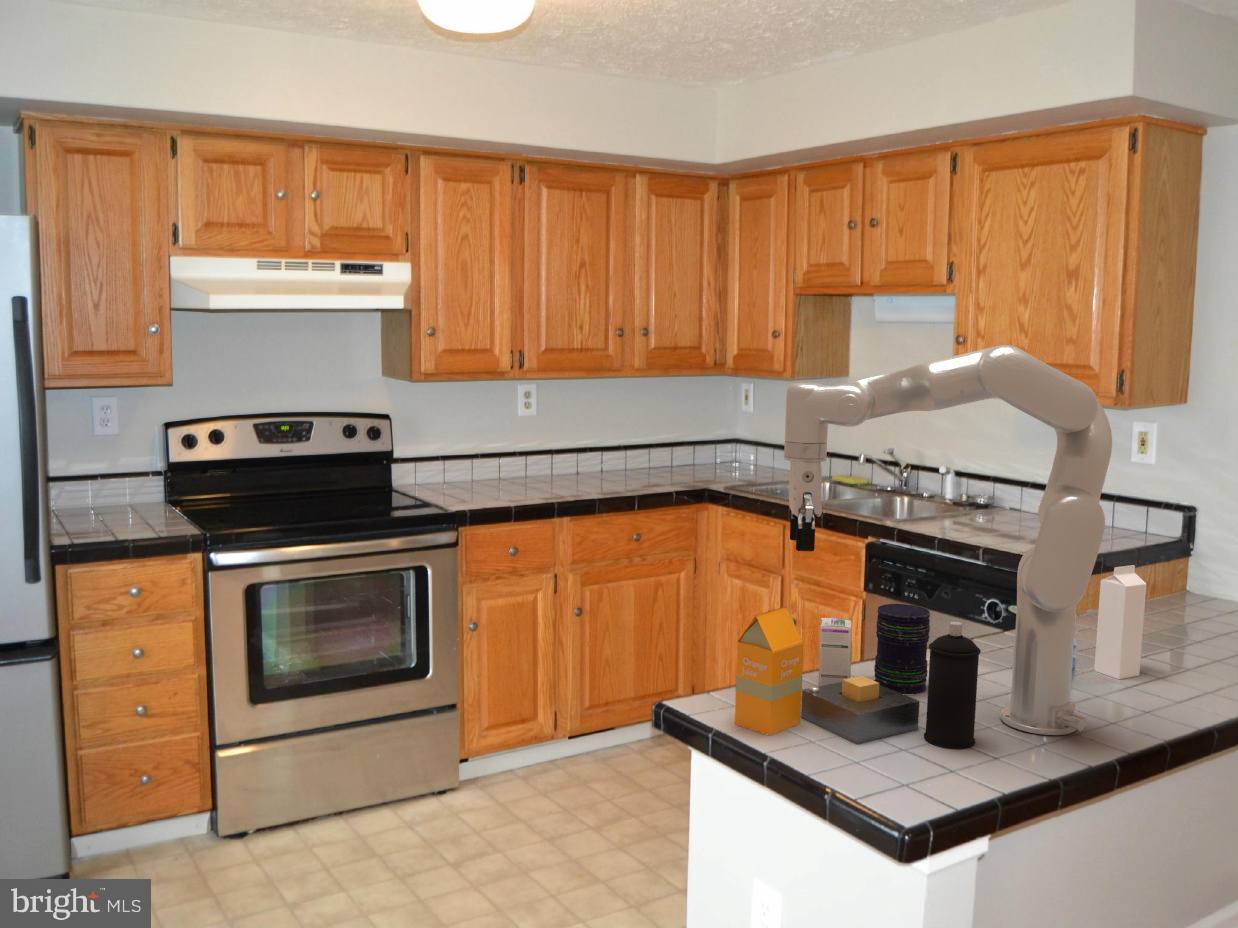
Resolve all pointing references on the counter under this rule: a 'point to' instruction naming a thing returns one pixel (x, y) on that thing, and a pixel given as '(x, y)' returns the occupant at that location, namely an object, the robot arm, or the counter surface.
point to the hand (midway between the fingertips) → (801, 545)
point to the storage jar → (902, 648)
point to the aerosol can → (952, 690)
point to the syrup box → (834, 650)
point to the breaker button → (860, 689)
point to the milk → (1120, 624)
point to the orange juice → (769, 673)
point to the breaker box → (860, 713)
